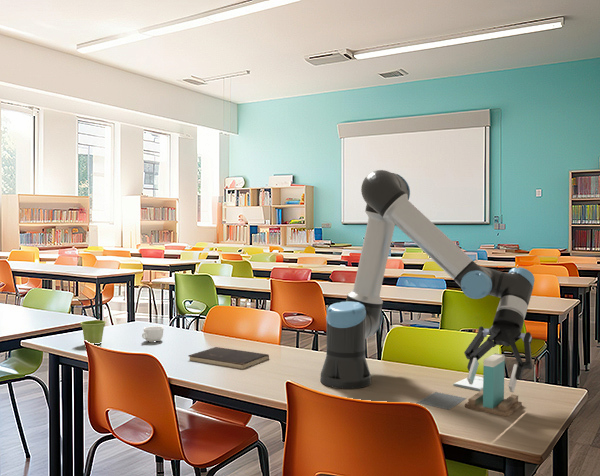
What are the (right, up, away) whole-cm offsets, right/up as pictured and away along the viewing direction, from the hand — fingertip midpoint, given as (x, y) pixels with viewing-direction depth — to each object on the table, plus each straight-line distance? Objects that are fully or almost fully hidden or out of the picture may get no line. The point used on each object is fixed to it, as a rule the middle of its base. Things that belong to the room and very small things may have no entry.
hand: (489, 385), depth 141 cm
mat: (-10, -6, +7) cm, 14 cm away
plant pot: (-129, -4, +75) cm, 149 cm away
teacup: (-108, -4, +80) cm, 135 cm away
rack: (+2, -7, +3) cm, 7 cm away
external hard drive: (+4, -7, +23) cm, 24 cm away
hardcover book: (-73, -6, +52) cm, 90 cm away
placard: (+2, -5, +3) cm, 6 cm away
